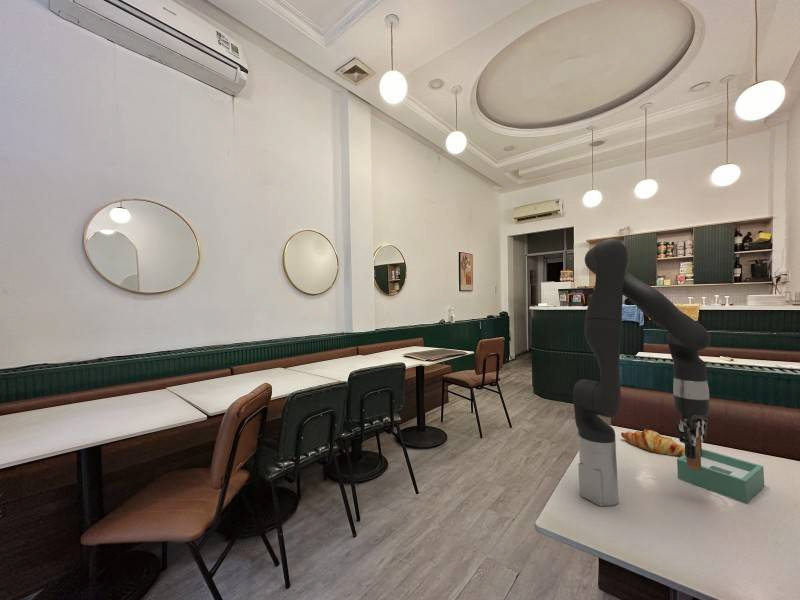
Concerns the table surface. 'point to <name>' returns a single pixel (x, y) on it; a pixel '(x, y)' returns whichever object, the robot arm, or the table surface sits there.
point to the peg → (696, 463)
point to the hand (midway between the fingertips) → (693, 456)
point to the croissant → (654, 442)
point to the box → (724, 475)
